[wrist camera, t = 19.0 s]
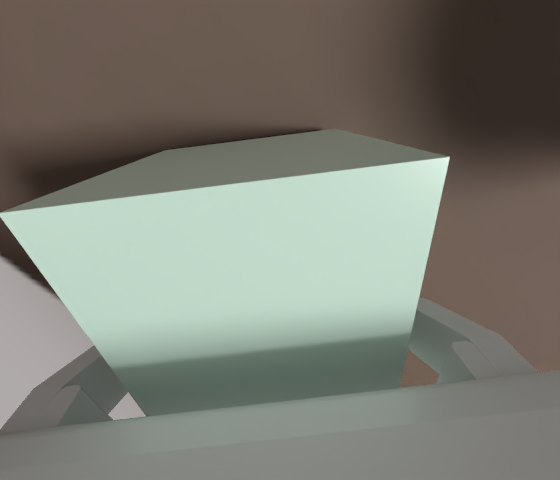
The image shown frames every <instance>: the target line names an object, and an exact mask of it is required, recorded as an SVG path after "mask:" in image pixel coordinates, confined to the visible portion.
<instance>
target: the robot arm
mask: <svg viewBox="0 0 560 480" xmlns="http://www.w3.org/2000/svg"><path fill="white" fill-rule="evenodd" d="M408 349H409V350H410V351H412V352H413V353H414V354H415V355H416V356H418V357H419V358H420V359H421V360H423V361H424V362H425V363H426V364H427V365H429V366H430V367H431V368H432V369H434V370H435V371H436V372H437V373H439V374H440V376H439V378H438V381H437V383H436V384H431V385H422V386H413V387H404V388H395V389H386V390H377V391H369V392H360V393H351V394H342V395H333V396H324V397H316V398H307V399H298V400H289V401H280V402H271V403H262V404H254V405H245V406H236V407H227V408H218V409H209V410H200V411H191V412H183V413H174V414H165V415H156V416H147V417H139V418H129V419H120V420H113V419H112V418H111V417H110V416H109V415H108V414H109V412H111V410H112V409H113V408H114V407H115V406H116V405H117V404H118V402H119V401H120V400H121V399H122V398H123V397H124V396H125V395H126V394H127V392H128V391H127V389H126V388H125V387H124V385H123V384H122V382H121V381H120V380H119V378H118V377H117V376H116V374H115V373H114V371H113V370H112V369H111V367H110V366H109V365H108V363H107V362H106V361H105V359H104V358H103V356H102V355H101V354H100V352H99V351H98V350H97V348H96V347H95V346H93V347H91V348H90V349H88V350H87V351H86V352H84V353H83V354H81V355H80V356H79V357H77V358H76V359H74V360H73V361H72V362H70V363H69V364H67V365H66V366H65V367H63V368H62V369H61V370H59V371H58V372H56V373H55V374H54V375H52V376H51V377H50V378H48V379H47V380H45V381H44V382H42V383H41V384H40V385H38V386H37V387H35V388H34V389H33V390H32V391H31V393H30V394H29V395H28V396H27V398H26V399H25V400H24V401H23V402H22V404H21V405H20V406H19V407H18V409H17V410H16V411H15V412H14V413H13V415H12V416H11V417H10V418H9V419H8V421H7V422H6V423H5V424H4V426H3V427H2V428H1V429H0V480H560V370H555V371H546V372H537V371H536V370H535V369H534V368H533V367H532V366H531V365H530V364H529V363H528V362H527V361H526V360H525V359H524V358H523V357H522V356H521V355H520V354H519V353H518V352H517V351H516V350H515V349H514V348H513V347H512V346H511V345H510V344H509V343H508V342H507V341H506V340H505V339H504V338H503V337H502V336H501V335H499V334H497V333H495V332H493V331H491V330H489V329H487V328H485V327H483V326H481V325H479V324H477V323H475V322H473V321H470V320H468V319H466V318H464V317H462V316H460V315H458V314H456V313H454V312H452V311H450V310H448V309H446V308H444V307H442V306H440V305H438V304H436V303H434V302H432V301H430V300H428V299H426V298H420V297H419V300H418V304H417V309H416V313H415V318H414V322H413V327H412V332H411V336H410V341H409V345H408Z"/></svg>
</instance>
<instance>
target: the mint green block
mask: <svg viewBox="0 0 560 480" xmlns="http://www.w3.org/2000/svg"><path fill="white" fill-rule="evenodd" d="M449 158H450V157H448V156H444V155H440V154H436V153H432V152H428V151H424V150H420V149H416V148H412V147H408V146H404V145H400V144H396V143H392V142H388V141H384V140H380V139H376V138H372V137H368V136H364V135H360V134H356V133H352V132H348V131H344V130H340V129H329V130H321V131H313V132H305V133H297V134H290V135H282V136H274V137H266V138H258V139H250V140H242V141H235V142H227V143H219V144H211V145H203V146H195V147H187V148H179V149H172V150H164V151H162V152H159V153H156V154H154V155H151V156H148V157H146V158H143V159H140V160H138V161H135V162H133V163H130V164H127V165H125V166H122V167H119V168H117V169H114V170H111V171H109V172H106V173H103V174H101V175H98V176H95V177H93V178H90V179H87V180H85V181H82V182H80V183H77V184H74V185H72V186H69V187H66V188H64V189H61V190H58V191H56V192H53V193H50V194H48V195H45V196H42V197H40V198H37V199H34V200H32V201H29V202H26V203H24V204H21V205H19V206H16V207H13V208H11V209H8V210H5V211H3V212H0V217H1V218H2V220H3V221H4V223H5V224H6V225H7V227H8V228H9V229H10V231H11V232H12V233H13V235H14V236H15V238H16V239H17V240H18V242H19V243H20V244H21V246H22V247H23V248H24V250H25V251H26V253H27V254H28V255H29V257H30V258H31V259H32V261H33V262H34V264H35V265H36V266H37V268H38V269H39V270H40V272H41V273H42V274H43V276H44V277H45V279H46V280H47V281H48V283H49V284H50V285H51V287H52V288H53V289H54V291H55V292H56V294H57V295H58V296H59V298H60V299H61V300H62V302H63V303H64V305H65V306H66V307H67V309H68V310H69V311H70V313H71V314H72V315H73V317H74V318H75V320H76V321H77V322H78V323H79V325H80V326H81V328H82V329H83V330H84V332H85V333H86V335H87V336H88V337H89V339H90V340H91V341H92V343H93V344H94V346H95V347H96V348H97V350H98V351H99V352H100V354H101V355H102V356H103V358H104V359H105V361H106V362H107V363H108V365H109V366H110V367H111V369H112V370H113V371H114V373H115V374H116V376H117V377H118V378H119V380H120V381H121V382H122V384H123V385H124V387H125V388H126V389H127V391H128V392H129V393H130V395H131V396H132V397H133V399H134V400H135V402H136V403H137V404H138V406H139V407H140V408H141V410H142V411H143V412H144V414H145V415H146V417H147V416H156V415H165V414H174V413H183V412H191V411H200V410H209V409H218V408H227V407H236V406H245V405H254V404H262V403H271V402H280V401H289V400H298V399H307V398H316V397H324V396H333V395H342V394H351V393H360V392H369V391H377V390H386V389H395V388H399V386H400V382H401V377H402V373H403V368H404V363H405V359H406V354H407V350H408V345H409V341H410V336H411V332H412V327H413V322H414V318H415V313H416V309H417V304H418V300H419V295H420V291H421V286H422V281H423V277H424V272H425V268H426V263H427V259H428V254H429V250H430V245H431V240H432V236H433V231H434V227H435V222H436V218H437V213H438V209H439V204H440V199H441V195H442V190H443V186H444V181H445V177H446V172H447V167H448V163H449Z"/></svg>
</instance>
